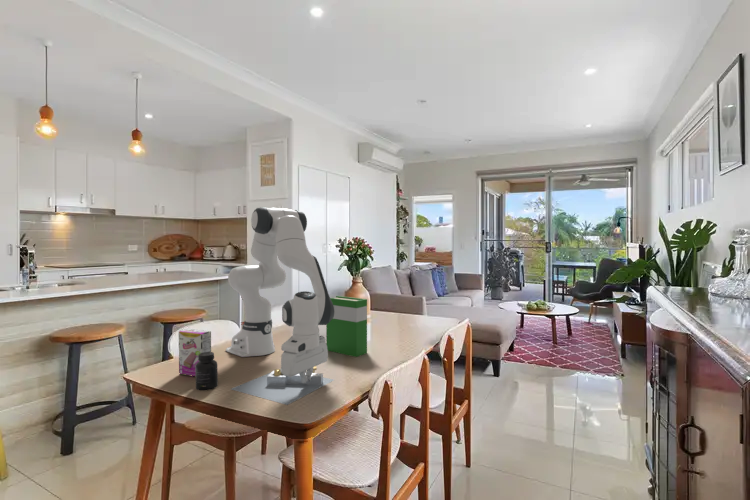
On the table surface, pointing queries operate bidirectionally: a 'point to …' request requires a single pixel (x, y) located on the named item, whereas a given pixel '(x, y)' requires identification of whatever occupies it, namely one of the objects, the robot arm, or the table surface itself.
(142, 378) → the table surface
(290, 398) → the board
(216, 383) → the supplement bottle
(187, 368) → the candy bar box
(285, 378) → the link
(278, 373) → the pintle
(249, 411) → the table surface
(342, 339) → the hardback book
